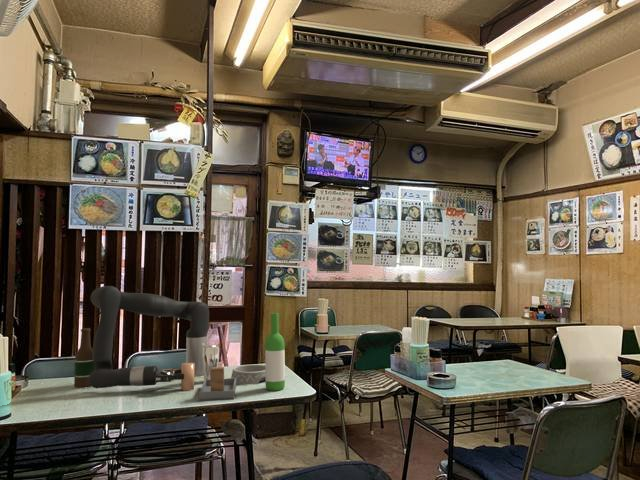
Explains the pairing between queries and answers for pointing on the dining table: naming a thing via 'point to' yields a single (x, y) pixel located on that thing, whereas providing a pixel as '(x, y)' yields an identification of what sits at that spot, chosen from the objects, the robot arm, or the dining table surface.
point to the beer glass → (210, 359)
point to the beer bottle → (84, 361)
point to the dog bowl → (249, 374)
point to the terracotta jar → (187, 376)
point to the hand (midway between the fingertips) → (185, 374)
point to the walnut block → (217, 379)
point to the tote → (228, 391)
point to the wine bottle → (274, 357)
